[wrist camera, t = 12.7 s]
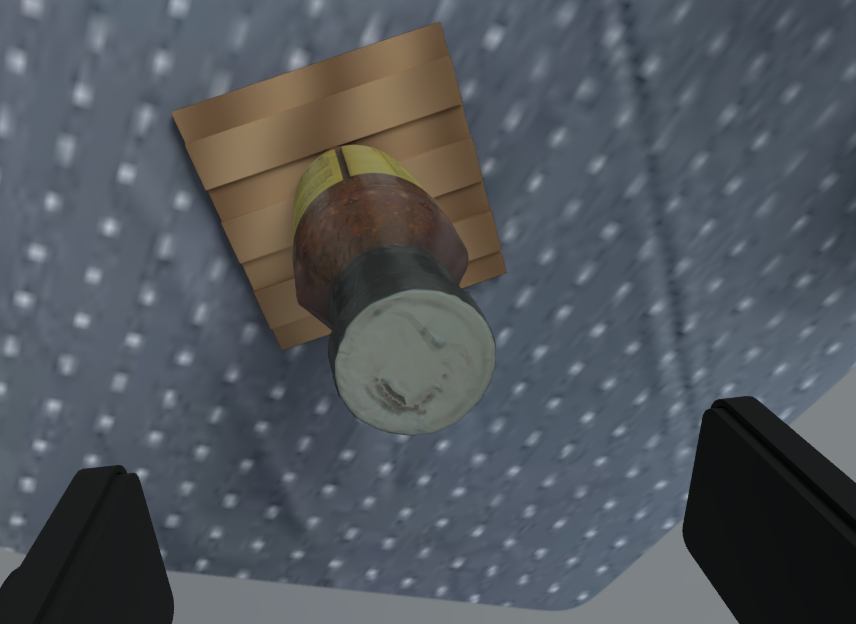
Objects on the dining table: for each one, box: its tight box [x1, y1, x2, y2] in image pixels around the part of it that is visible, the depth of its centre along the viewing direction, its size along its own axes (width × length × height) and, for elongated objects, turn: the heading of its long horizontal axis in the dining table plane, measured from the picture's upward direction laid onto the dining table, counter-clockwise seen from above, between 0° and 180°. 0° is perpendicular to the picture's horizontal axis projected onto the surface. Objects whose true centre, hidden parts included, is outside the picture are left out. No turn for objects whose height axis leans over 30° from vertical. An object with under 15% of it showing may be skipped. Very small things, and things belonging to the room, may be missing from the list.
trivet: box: [171, 22, 507, 350], centre depth 33 cm, size 14×14×1 cm
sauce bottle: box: [292, 145, 496, 436], centre depth 23 cm, size 6×6×20 cm
